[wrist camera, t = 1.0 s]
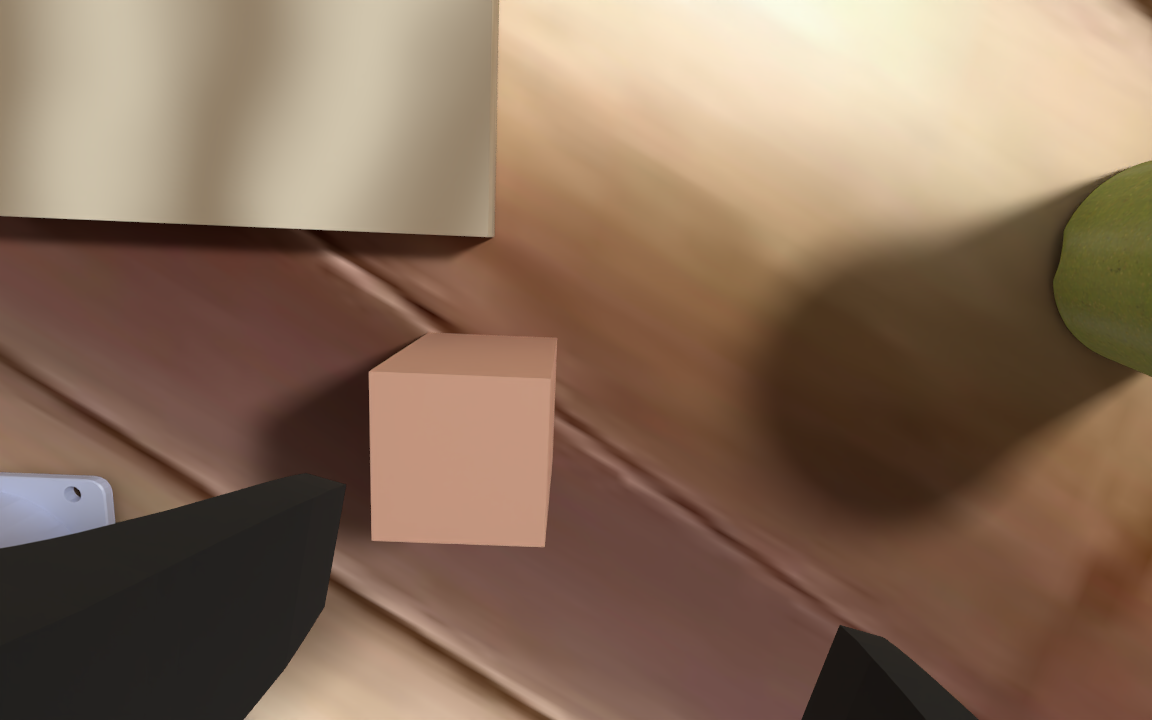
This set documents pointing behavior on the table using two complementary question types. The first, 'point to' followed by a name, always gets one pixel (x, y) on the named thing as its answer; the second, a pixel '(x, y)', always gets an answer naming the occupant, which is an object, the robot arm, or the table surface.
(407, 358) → the block
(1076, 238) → the plant pot
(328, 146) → the board
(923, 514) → the table surface
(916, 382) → the table surface
